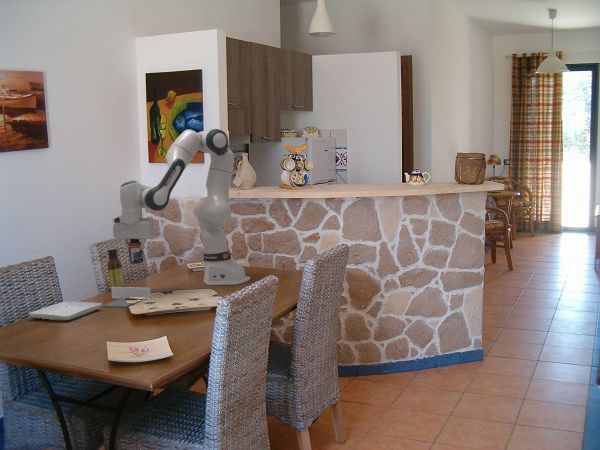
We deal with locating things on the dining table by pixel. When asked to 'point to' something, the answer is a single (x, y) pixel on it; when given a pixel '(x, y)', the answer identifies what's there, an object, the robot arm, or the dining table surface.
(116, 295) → the acrylic wall
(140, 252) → the supplement bottle
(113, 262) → the sauce bottle
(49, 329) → the dining table surface
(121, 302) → the rubber mat
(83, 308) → the salad plate
